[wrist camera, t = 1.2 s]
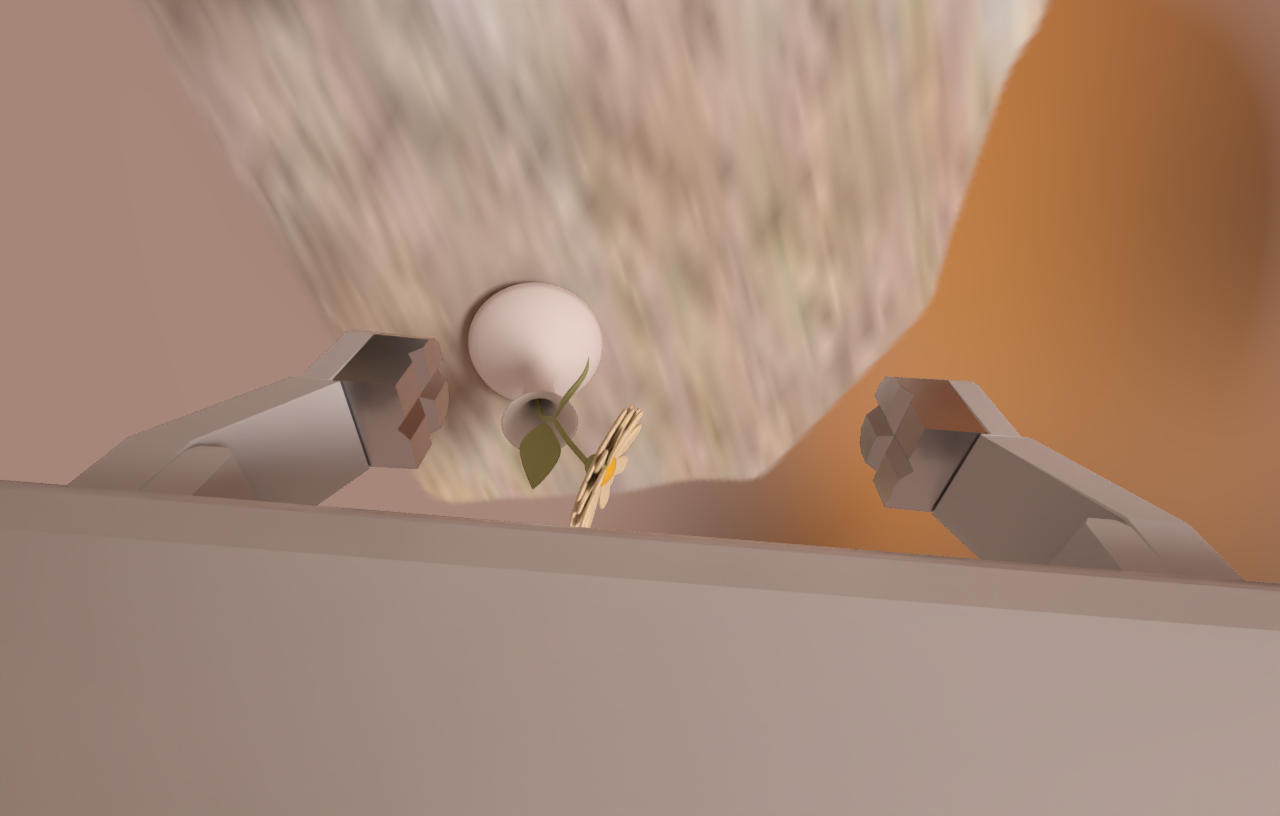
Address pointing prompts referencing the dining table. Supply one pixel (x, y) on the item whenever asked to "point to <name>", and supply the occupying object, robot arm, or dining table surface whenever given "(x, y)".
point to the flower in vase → (548, 383)
